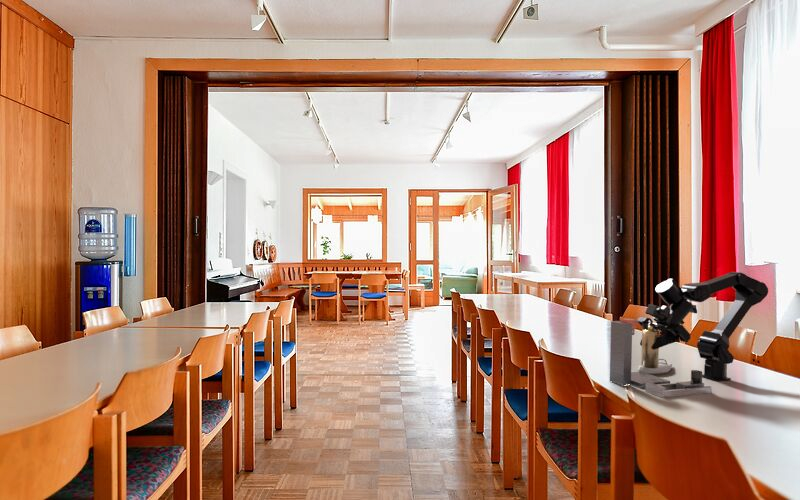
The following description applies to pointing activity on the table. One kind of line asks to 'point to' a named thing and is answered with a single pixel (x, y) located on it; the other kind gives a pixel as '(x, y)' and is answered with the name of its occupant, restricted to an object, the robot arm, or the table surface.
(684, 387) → the sliding block with knob
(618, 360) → the press bed
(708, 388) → the guide rail
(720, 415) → the table surface
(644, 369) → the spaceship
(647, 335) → the disc
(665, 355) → the table surface
